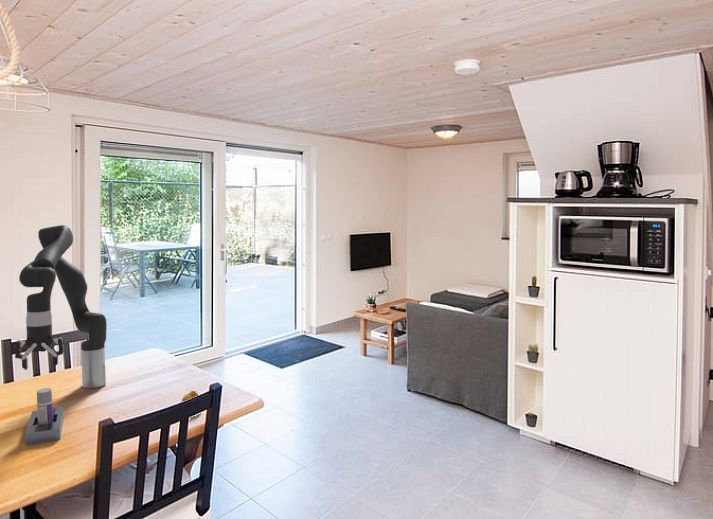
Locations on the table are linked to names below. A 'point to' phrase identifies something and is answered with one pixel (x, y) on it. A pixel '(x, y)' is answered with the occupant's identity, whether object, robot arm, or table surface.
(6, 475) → the table surface
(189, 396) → the fruit
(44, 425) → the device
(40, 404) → the container
